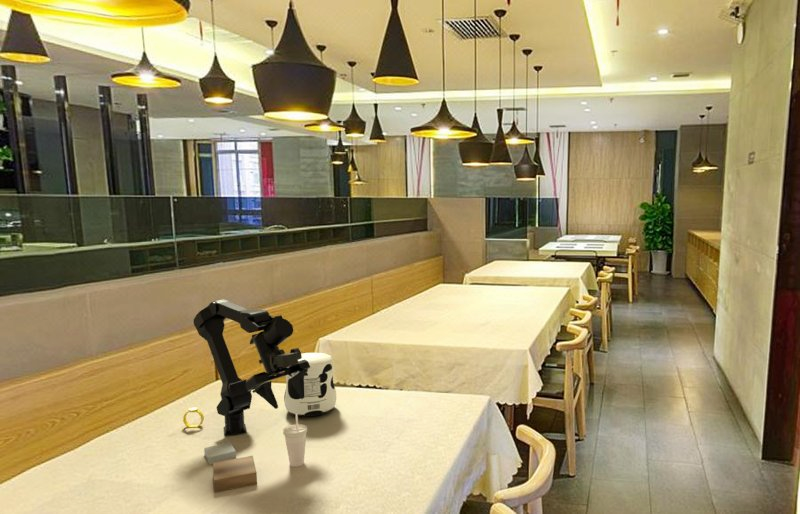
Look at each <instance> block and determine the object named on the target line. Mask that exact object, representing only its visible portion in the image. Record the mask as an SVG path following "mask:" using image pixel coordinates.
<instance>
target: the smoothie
mask: <svg viewBox="0 0 800 514" xmlns="http://www.w3.org/2000/svg"><path fill="white" fill-rule="evenodd" d="M294 416H295V423H294V424H290V425H287V426H285V427H284V428H283V432H282V434H283V436H284V438H285V439H284V440H285V445H286V451H287V456H288V462H289V466H290V467H292V468H297V467H302V466H303V465H304V464H305V453H306V443H307V442H306V441H307V440H306V439H307V433H308V426H307V425H305V424H301V423H299V416H298V413H297V412H296V413H295V415H294Z"/></svg>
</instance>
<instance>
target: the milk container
mask: <svg viewBox="0 0 800 514" xmlns="http://www.w3.org/2000/svg"><path fill="white" fill-rule="evenodd" d="M301 355H302V358H301V359H299V360H298V361H301V360H307V361H308V362H309V365H310V368H309V369H308V372H306V373H305V376H304V398H303V399H301V398H300V396H299V395H298V393H297V391H296V390H295V388H294V386H293V384H292V382H291V381H290V379H291V378H292V377H291V376H289V375H286V376H285V381H286V383H285V384H286V385H285V390H284V391H285V392H284V397H283V399H284V400H283V401H284V407H285V409H286V411H287V412H288V413H290V414H291V415H294V416H296V415H295V413H296V412H297V413H298V417H315V416H321V415H323V414H326V413H328V412H330V411H332V410H333V409H334V408H335V406H336V405H337V404H336V403H337V390H336V387H335V383H334V375H333V374H334V369H333V359H332V355H330V354H328V353H324V352H305V353H301ZM287 368H288V367H287Z"/></svg>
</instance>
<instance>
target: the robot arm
mask: <svg viewBox="0 0 800 514" xmlns="http://www.w3.org/2000/svg"><path fill="white" fill-rule="evenodd" d="M226 319H229V320H230V321H233V322H236V323H238V324H239V326H240V327H239V328H241V330H243V331H245V332H246V333H248V334H251V333H255V334H252V335H251V338H250V341H249V344H250V345H254V344H255V348H256V350H257V352H258V356H259V358H260V359H259V360H258V363H259V364H260V365H261V364H262V366H263V368H264V370H265V371H263V372H258V373H256V374H253V375H252V376H251V377H250V378H248V379H241V378H240V377H239V375H238V373H237V369H236V367H235V365H234V362H233V359H232V357H231V354H230V351H229V349H228V345H227V343H226V341H225V338H224V335H223V334H224V330H225V327H226V326H225V320H226ZM193 326H194V328H195V329H196V331H197V334H198V335H199V337H201V338H202V339H204V340H205V341H206V342H207V345H208V347H209V350H210V353H211V356H212V359H213V361H214V364H215V366H216V369H217V372H218V375H219V377H220V380H221V383H222V385H221V388H220V389H221V390H220V398H221V399H220V401H219V403H218V404H217V406H215V407H216V411H217V415H220V416H224V426H223V434H224V436H232V435H239V434H243V433H244V434H245V433H247V432H248V431H247V430H248V429H247V426H246V423H245V412H244V411H246V410H250V409H251V404H252V399H253V395H252V394H253V393H254V394H255V393H256V394H257V395H259V396H260V397H261V398H263V400H265V401H266V402H267V403H268V404H270V406H271V407H272V408H274V409H276V410H277V409H279V405H278V404H279V403H278V401H277V398H276V397H275V394H274V392H273V389H272V381H273V380H277V379H279V378H283V377H286V375H289V376H291V377H292V378H291V379H290V381H291V382H292V384H293V386H294V388H295V390H296V391H297V393H298V395H299V396H300V398H301V399H303V398H304V376H305V373H306V372H308V369H309V368H310V365H309V362H308V361H307V360H301V361H298V360H299V359H301V358H302V355H301V354H302V352H301V350H300V348H299V347H296V348H291V349H290V351H289V352H288V353H286V352H285V350H284V349H280V347H279V345H281V344H283V342H284V341H286V340H288V339H289V338H290V337H291V336H292V335H293V333H294V327H293V324H292V323H291V322H290V321H289V320H288V319H285V318H283V316H282V314H279V315H275V316H272V315H271V314H270V313H269V312H268V311H267V310H265V309H259V308H255V309H249V308H246V307H244V306H241V305H238V304H236V303H233V302H231V301H229V300H228V299H225V298H222V299H217V300H212V301H211V302H210V303H209V304H208V305H207V306H206V307H204V308H203V309H201V310H199V312H197V314H196V315H195V316H194V318H193ZM256 332H259V333H256ZM287 367H288V368H287Z"/></svg>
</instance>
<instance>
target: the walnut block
mask: <svg viewBox="0 0 800 514" xmlns="http://www.w3.org/2000/svg"><path fill="white" fill-rule="evenodd" d="M212 468H213V469H212V471H213V474H212V475H213V488H214V490H213V491H214V493H217V492H223V491H228V490H232V489H237V488H242V487H248V486H253V485H258V480H257V479H258V475H257V467H256V464H255V460H254V456H253V455H249V456H248V455H247V456H244V457H238V458H237V457H236V458H234V459H230V460H225V461H219V462H214V463H213V464H212Z"/></svg>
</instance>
